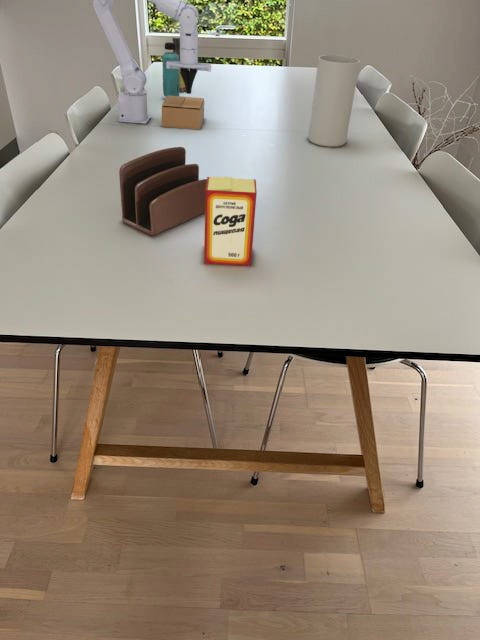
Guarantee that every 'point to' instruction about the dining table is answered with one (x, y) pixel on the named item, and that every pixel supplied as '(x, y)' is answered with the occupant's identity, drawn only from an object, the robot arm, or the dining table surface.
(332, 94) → the cylinder vase
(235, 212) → the baking soda box
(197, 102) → the flap
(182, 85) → the sauce bottle
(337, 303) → the dining table surface
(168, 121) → the carton
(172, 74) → the beverage bottle
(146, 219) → the letter holder
